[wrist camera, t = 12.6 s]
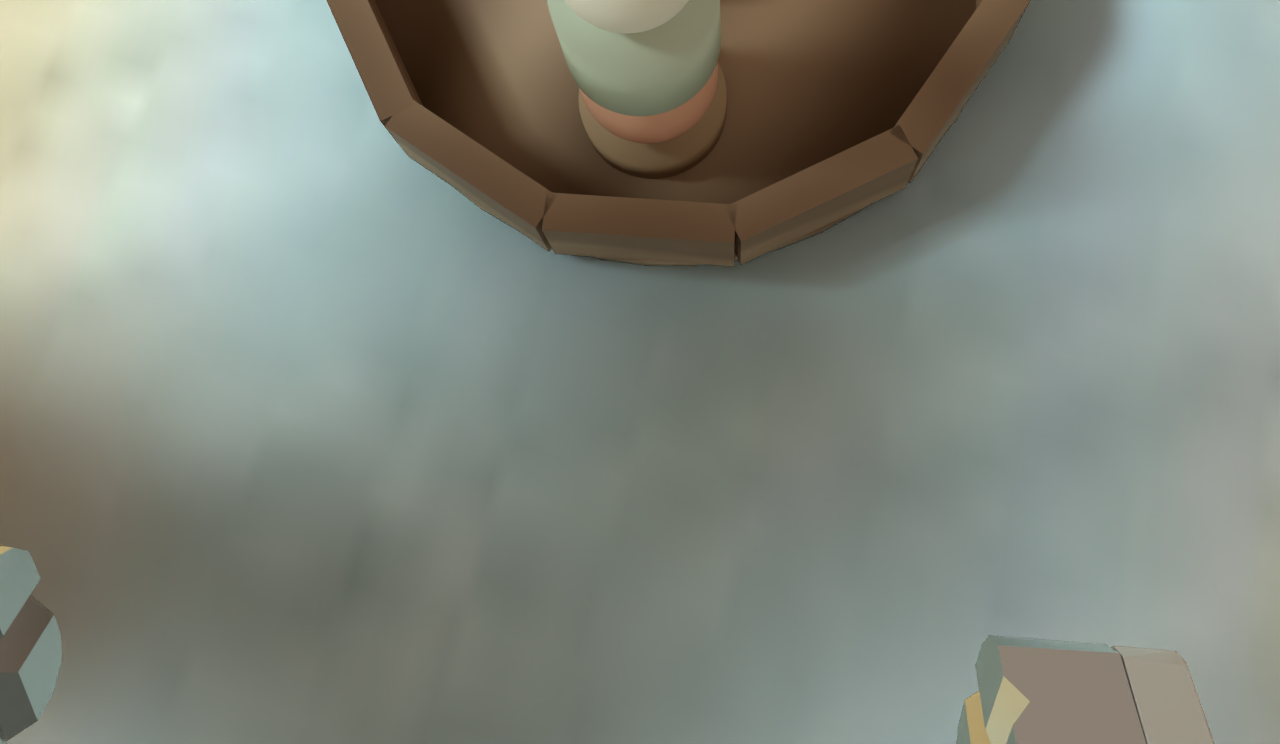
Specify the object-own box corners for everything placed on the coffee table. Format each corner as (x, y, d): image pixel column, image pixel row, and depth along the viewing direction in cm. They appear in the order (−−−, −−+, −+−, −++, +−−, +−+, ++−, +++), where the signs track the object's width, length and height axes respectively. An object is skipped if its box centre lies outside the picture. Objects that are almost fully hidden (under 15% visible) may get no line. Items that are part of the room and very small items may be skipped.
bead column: (576, 174, 34) (507, 5, 24) (589, 37, 34) (528, -186, 24) (721, 183, 33) (714, 15, 23) (731, 44, 34) (730, -179, 24)
